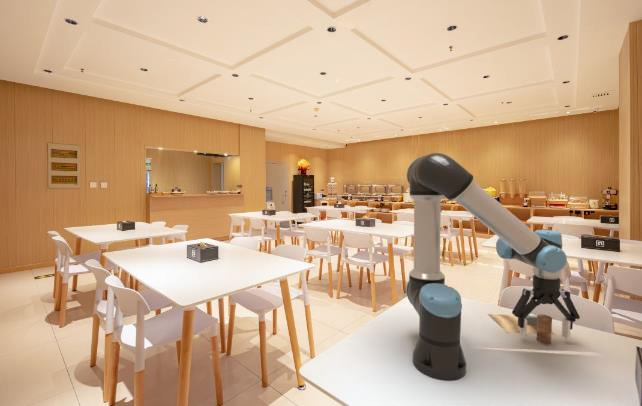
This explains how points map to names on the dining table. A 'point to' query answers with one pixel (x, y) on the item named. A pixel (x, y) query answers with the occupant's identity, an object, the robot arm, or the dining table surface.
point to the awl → (544, 329)
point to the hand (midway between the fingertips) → (544, 337)
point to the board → (513, 324)
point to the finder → (531, 319)
